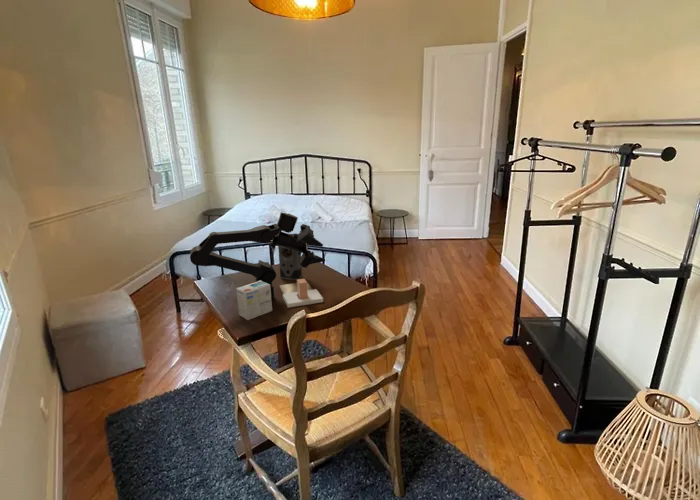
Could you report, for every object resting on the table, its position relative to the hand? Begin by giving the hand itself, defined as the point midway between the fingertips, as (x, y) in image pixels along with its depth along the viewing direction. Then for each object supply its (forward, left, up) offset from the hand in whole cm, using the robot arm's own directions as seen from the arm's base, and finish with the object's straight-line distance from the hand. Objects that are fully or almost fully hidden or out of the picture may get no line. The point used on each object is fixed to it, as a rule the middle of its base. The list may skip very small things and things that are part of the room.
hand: (323, 252), depth 158 cm
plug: (-11, -7, -16) cm, 21 cm away
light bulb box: (-30, -12, -16) cm, 36 cm away
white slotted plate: (-11, -7, -16) cm, 21 cm away
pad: (-11, +5, -16) cm, 20 cm away
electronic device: (-10, +19, -16) cm, 27 cm away
